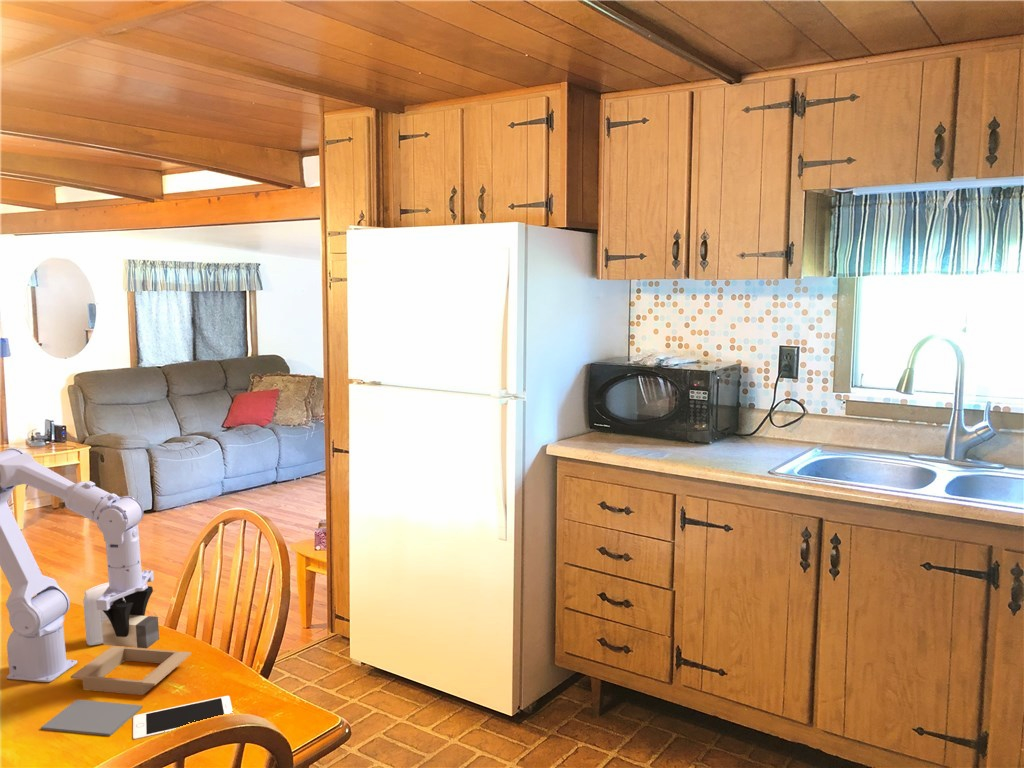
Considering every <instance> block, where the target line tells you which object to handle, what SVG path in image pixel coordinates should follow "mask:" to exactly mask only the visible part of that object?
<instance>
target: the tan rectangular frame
mask: <svg viewBox="0 0 1024 768" xmlns="http://www.w3.org/2000/svg"><path fill="white" fill-rule="evenodd" d="M191 655H192V651H191V652H190V651H177V650H166V649H153V648H135V647H123V646H111V647H109V648H108V649H107V650H105V651H103V652H102V653H101V654H99V655H97V657H95V658H94V659H92V660H91V661H89V662H88V663H87V664H85V665H84V666H83V667H81V668H80V669H79V670H77V671H76V672H74V673H73V674H72V675H70V679H73V680H74V679H75V680H82V685H83V686H82V687H83V688H82V689H83V691H91V690H95V691H94V692H102V691H104V693H114V692H116V693H115V694H125V695H127V694H128V695H137V696H144V695H145V694H147V692H149V691H150V690H151V689H152V688H154V687H155V686H156V685H157V684H158V683H160V681H162V680H163V679H164V678H166V676H167V675H169V674H170V673H171V672H172V671H173V670H175V669H176V668H177V667H179V665H180V664H182V663H183V662H184V661H185V660H186V659H187V658H188V657H190V656H191ZM125 661H130V662H143V663H151V664H152V663H153V664H154V663H155V664H159V665H158V666H157V667H156V668H154V669H153V670H152V671H150V673H148V674H147V675H146V676H145V677H144V678H142V679H141V680H139V679H130V678H128V679H127V678H117V677H116V678H115V677H106V676H107V675H108V674H110V673H111V672H112V671H113V670H114V668H115V669H116V668H117V667H118V665H119V666H120V665H122V664H123V662H125ZM105 675H106V676H105Z"/></svg>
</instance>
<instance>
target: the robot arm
mask: <svg viewBox="0 0 1024 768" xmlns="http://www.w3.org/2000/svg"><path fill="white" fill-rule="evenodd" d="M20 485H27V486H29V487H32V488H34V489H37V490H38V491H41V492H44V493H47V494H49V495H52V496H54V497H57V498H59V499H61V500H63V501H64V504H65V507H66V509H67V510H69V511H72V512H74V513H76V514H78V515H80V516H83V517H85V518H86V519H89V520H91V521H93V522H95V524H96V525H97V527H98V529H99V530H100V532H101V533H102V535H103V542H105V551H106V562H107V563H106V564H107V575H108V576H107V577H108V582H109V587H108V588H107V589H106V591H105V592H104V593H103V595H102V596H101V597H100V598H99V599H97V600H96V603H97V610H102V611H103V612H104V613H105V614H106V615H107V617H108V618H109V620H110V622H111V624H112V626H113V629H114V631H115V634H116V636H117V637H127V636H128V633H129V616H130V615H140V616H146V610H147V607H148V603H149V601H150V597H151V595H152V594H153V592H154V590H153V587H152V586H151V585H148V582H149V583H151V582H153V581H154V580H155V578H154V577H155V576H154V571H153V570H147V569H146V570H143V569H142V559H141V547H140V546H141V545H140V532H139V523H140V522H141V521H142V520H143V518H144V508H143V506H142V504H141V502H140V501H139V500H138V499H136V498H134V497H133V496H130V495H124V496H118V495H117V494H116V493H110V492H108V491H107V490H104V489H102V488H100V487H98V486H96V483H95V482H93V481H91V480H89V481H85V480H84V481H78V482H76V483H74V482H73V481H71V480H69V479H68V478H66V477H64V476H62V475H61V474H59V473H58V472H55V471H53V470H52V469H50V468H48V467H47V466H45V465H44V464H41V463H40V462H38V461H36V460H35V459H34V457H33V455H32V454H30V453H28V452H24V451H23V450H21V449H20V448H18V447H17V448H15V447H13V448H12V447H9V448H7V449H5V450H3V451H0V568H1V571H2V572H3V574H4V576H5V578H6V580H7V582H8V584H9V586H10V588H11V590H10V593H9V595H8V597H7V600H6V603H5V606H6V609H7V611H8V616H9V617H8V620H9V625H10V626H11V628H12V630H13V631H11V633H10V634H9V636H8V638H7V643H6V652H7V661H8V671H9V674H7V675H6V679H7V680H17V681H28V682H29V681H30V682H41V683H51V682H52V681H54V680H56V679H57V678H58V677H60V676H61V675H62V674H64V673H65V672H67V671H68V670H69V669H71V668H73V667H74V666H75V665H77V664H78V660H74V659H67V654H66V642H65V630H64V621H65V615H66V614H67V613H68V611H69V610H70V607H71V601H70V597H69V595H68V593H67V592H66V591H65V590H64V589H62V588H61V587H60V586H59V585H58V582H57V581H56V579H55V578H53V577H50V576H47V575H44V574H42V571H41V569H40V566H39V565H38V563H37V561H36V559H35V557H34V554H33V552H32V551H31V548H30V546H29V544H28V543H27V540H26V538H25V536H24V534H23V532H22V530H21V528H20V526H19V524H18V522H17V520H16V518H15V516H14V514H13V511H12V510H11V508H10V506H9V504H8V501H9V499H10V496H11V495H12V492H13V491H14V490H15V488H16V487H17V486H20ZM142 570H143V571H142ZM123 597H124V599H125V600H124V601H123ZM125 601H126V602H125Z"/></svg>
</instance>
